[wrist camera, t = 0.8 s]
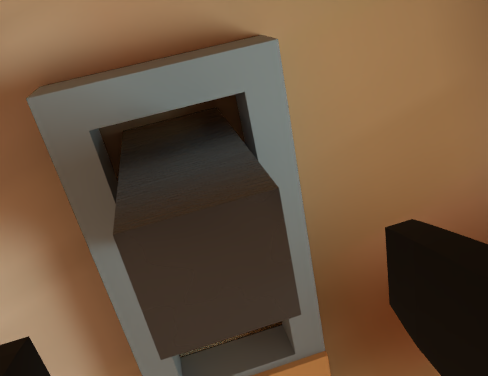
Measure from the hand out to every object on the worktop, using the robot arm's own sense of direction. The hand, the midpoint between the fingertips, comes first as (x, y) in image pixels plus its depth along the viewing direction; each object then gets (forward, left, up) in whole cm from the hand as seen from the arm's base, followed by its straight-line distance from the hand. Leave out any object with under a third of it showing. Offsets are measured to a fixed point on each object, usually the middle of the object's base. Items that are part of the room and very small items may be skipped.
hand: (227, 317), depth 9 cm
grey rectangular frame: (0, +7, -9) cm, 12 cm away
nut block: (0, 0, -9) cm, 9 cm away
